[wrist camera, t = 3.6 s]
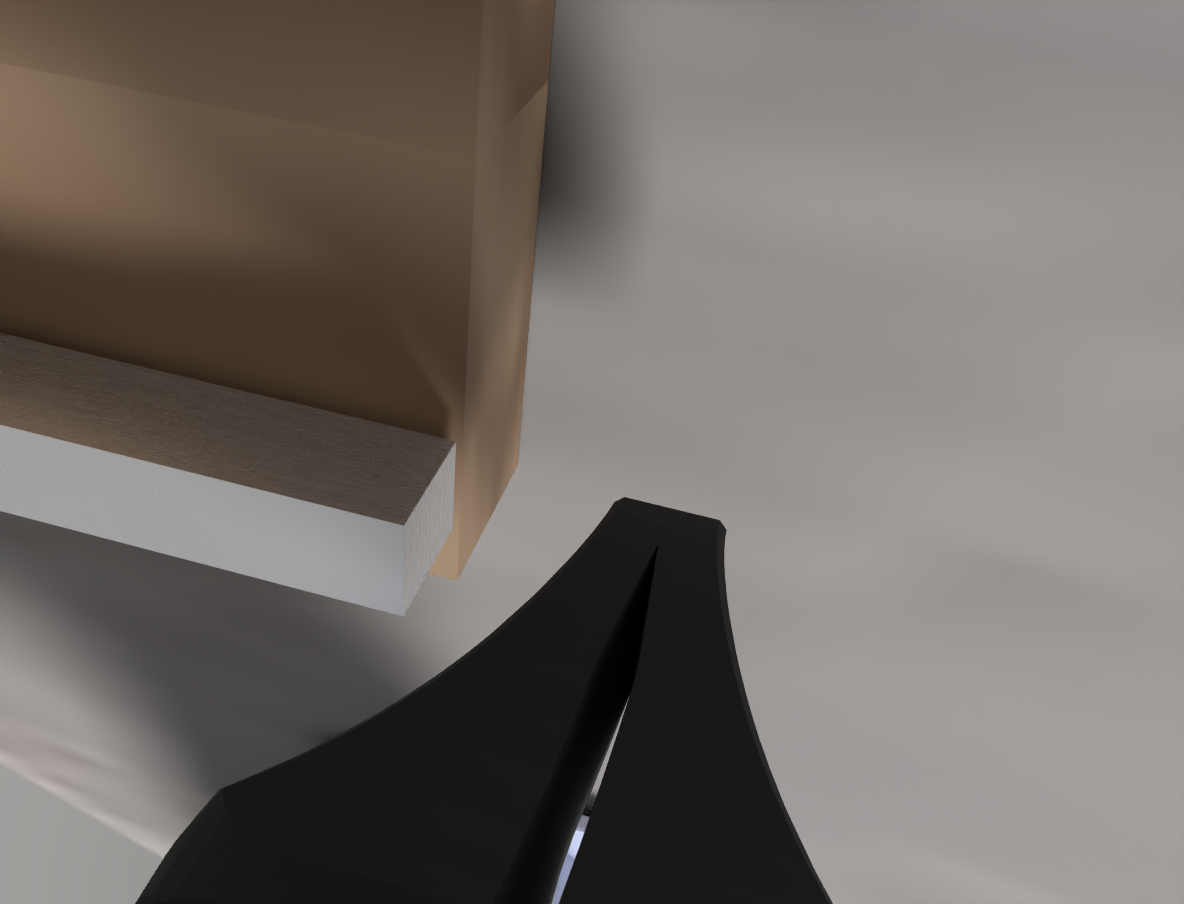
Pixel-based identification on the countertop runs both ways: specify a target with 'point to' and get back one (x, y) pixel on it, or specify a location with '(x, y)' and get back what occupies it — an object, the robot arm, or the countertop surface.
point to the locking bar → (222, 475)
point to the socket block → (287, 204)
